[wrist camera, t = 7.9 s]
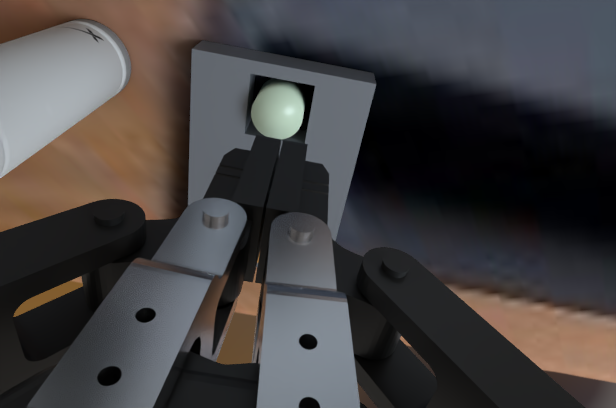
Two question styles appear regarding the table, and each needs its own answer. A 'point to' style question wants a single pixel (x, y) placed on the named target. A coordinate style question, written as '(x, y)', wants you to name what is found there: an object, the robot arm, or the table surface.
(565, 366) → the table surface
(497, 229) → the table surface
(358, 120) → the button panel
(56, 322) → the robot arm
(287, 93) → the sage button
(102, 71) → the travel mug
